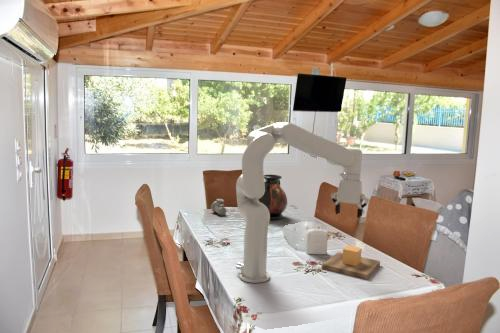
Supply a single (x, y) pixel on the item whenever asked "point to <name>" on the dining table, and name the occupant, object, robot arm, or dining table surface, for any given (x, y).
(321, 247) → the photo printer
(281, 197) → the amphora vase
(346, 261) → the solid orange cube
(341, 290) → the dining table surface
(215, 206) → the grey lumpy piece
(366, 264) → the board
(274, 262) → the dining table surface
